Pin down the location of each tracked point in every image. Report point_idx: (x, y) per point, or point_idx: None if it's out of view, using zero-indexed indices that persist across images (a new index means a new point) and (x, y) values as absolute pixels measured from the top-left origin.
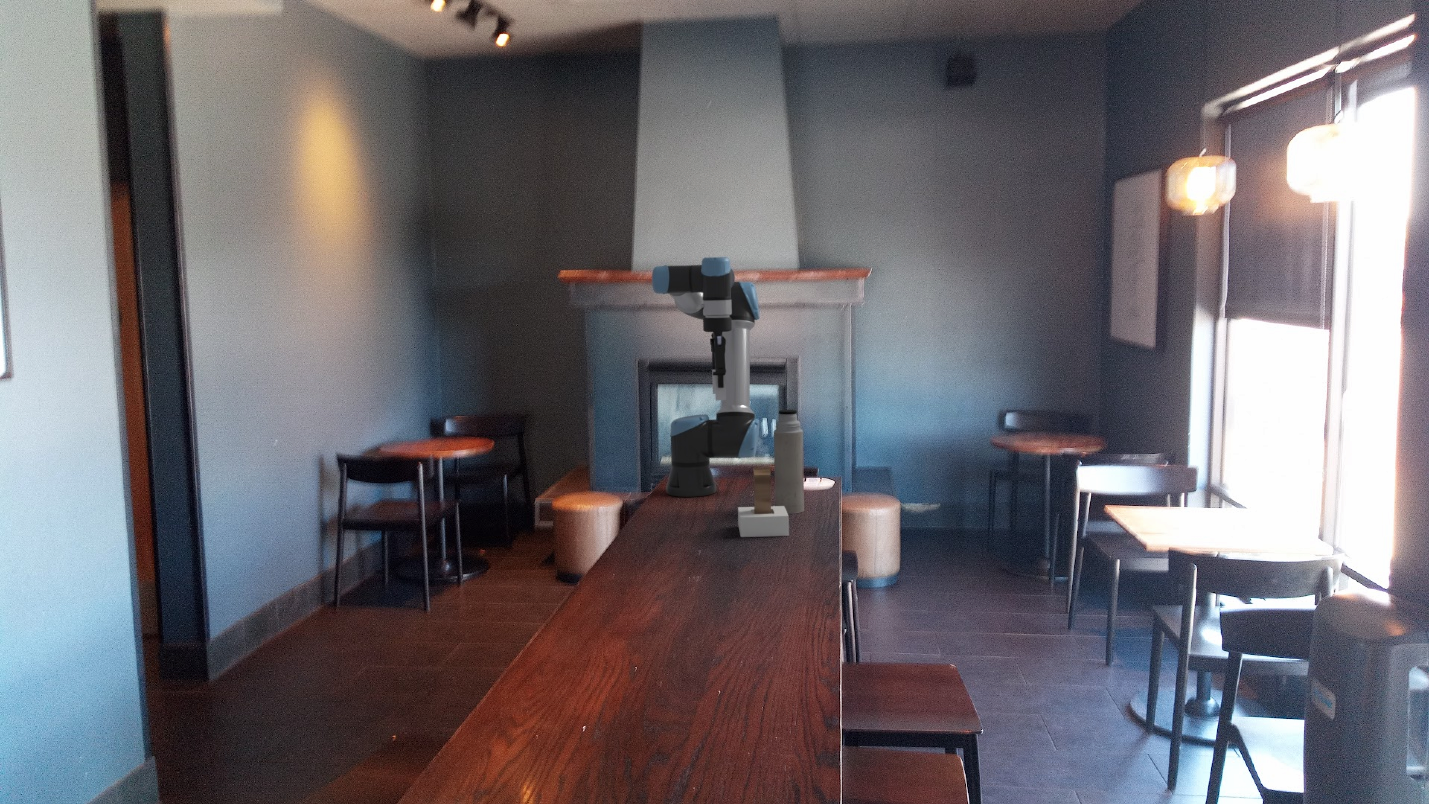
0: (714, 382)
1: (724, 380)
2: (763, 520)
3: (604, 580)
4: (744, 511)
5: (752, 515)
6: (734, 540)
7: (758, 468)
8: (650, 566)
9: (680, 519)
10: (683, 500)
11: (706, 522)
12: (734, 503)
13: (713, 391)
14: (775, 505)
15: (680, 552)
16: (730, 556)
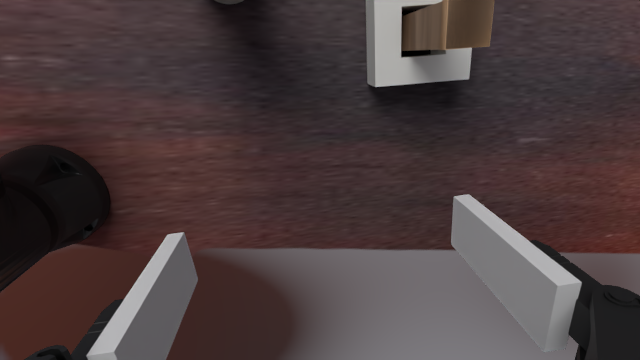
0: (174, 319)
1: (546, 262)
2: None
3: (632, 241)
4: (418, 71)
5: (457, 53)
6: (471, 87)
7: (461, 33)
8: (588, 198)
9: (305, 189)
10: (140, 200)
11: (331, 143)
12: (157, 99)
13: (193, 285)
14: (234, 1)
15: (526, 167)
16: (572, 89)
